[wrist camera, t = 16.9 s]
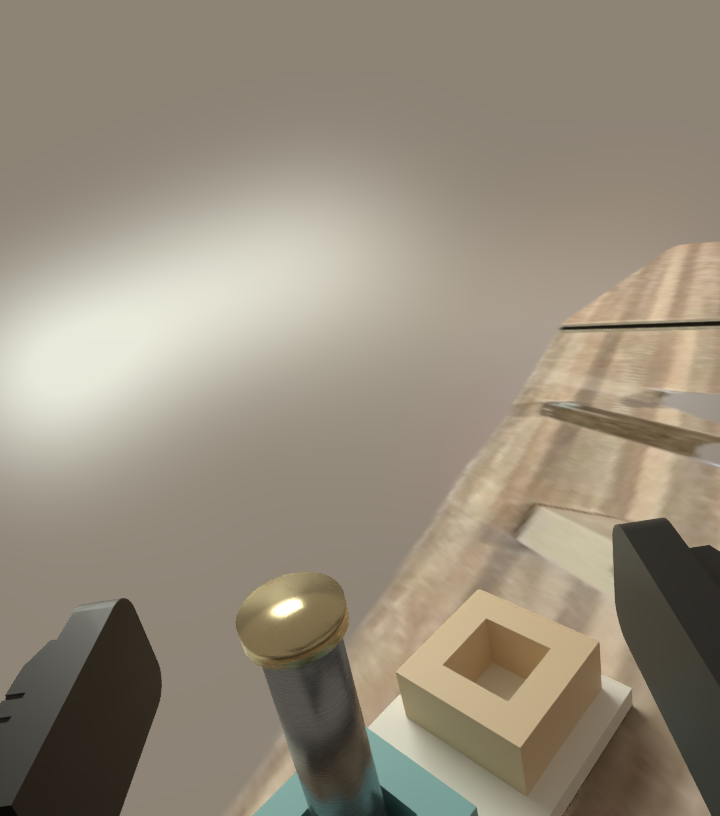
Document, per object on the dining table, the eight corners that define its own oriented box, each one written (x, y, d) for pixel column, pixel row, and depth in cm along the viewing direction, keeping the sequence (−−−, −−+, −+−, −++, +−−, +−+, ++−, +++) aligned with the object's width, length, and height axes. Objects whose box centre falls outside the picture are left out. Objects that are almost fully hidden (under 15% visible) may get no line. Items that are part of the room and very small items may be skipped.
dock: (478, 629, 50) (469, 573, 48) (632, 705, 41) (630, 641, 39) (211, 915, 35) (180, 852, 33) (367, 1122, 27) (340, 1057, 24)
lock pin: (366, 811, 37) (296, 559, 30) (427, 865, 34) (367, 597, 27) (306, 879, 34) (214, 619, 27) (367, 944, 31) (281, 669, 24)
